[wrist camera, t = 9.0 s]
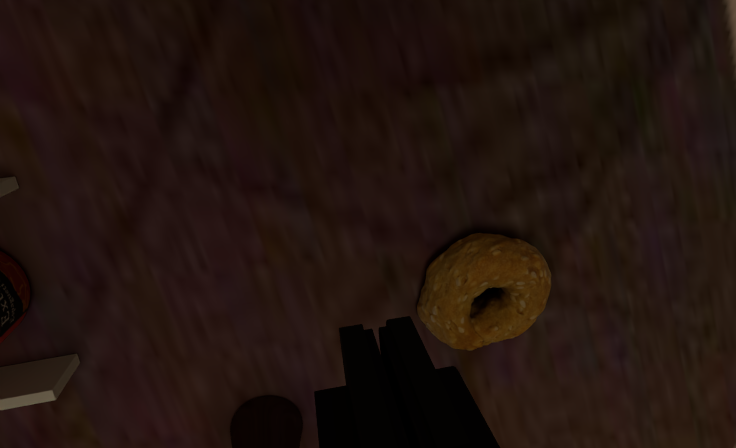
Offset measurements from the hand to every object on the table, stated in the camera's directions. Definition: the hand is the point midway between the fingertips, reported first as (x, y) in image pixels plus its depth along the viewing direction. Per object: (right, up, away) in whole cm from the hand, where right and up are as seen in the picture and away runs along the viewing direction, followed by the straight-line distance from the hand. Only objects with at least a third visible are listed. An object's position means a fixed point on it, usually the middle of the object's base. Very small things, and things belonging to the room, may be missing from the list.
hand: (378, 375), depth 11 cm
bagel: (+9, -1, +30) cm, 32 cm away
